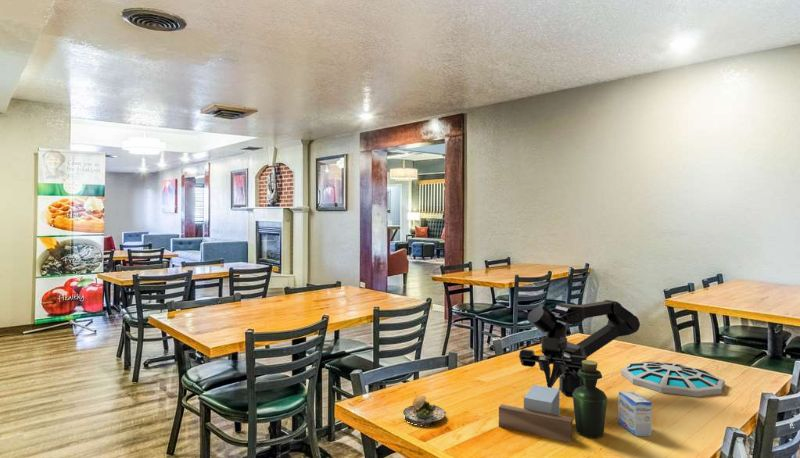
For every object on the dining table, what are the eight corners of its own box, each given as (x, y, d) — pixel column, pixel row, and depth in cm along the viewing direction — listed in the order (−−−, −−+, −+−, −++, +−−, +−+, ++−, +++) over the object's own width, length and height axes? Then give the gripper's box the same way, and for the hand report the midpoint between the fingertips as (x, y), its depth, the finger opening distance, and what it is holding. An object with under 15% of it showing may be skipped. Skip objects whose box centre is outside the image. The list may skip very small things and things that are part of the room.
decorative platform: (624, 389, 148) (624, 374, 148) (618, 364, 175) (618, 351, 175) (738, 403, 136) (738, 387, 136) (713, 374, 163) (713, 360, 163)
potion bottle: (579, 440, 112) (580, 367, 112) (567, 425, 121) (567, 357, 120) (612, 440, 112) (613, 367, 112) (598, 425, 121) (598, 357, 120)
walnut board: (501, 422, 122) (501, 404, 122) (572, 438, 113) (572, 418, 113) (498, 426, 120) (498, 407, 120) (570, 442, 111) (570, 421, 111)
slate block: (533, 412, 129) (533, 384, 129) (559, 418, 126) (559, 389, 125) (523, 428, 119) (523, 397, 119) (551, 434, 116) (551, 402, 116)
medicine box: (617, 423, 122) (617, 390, 122) (633, 422, 122) (633, 390, 122) (635, 436, 114) (635, 402, 114) (652, 436, 115) (652, 401, 114)
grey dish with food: (433, 432, 118) (433, 403, 117) (394, 421, 124) (394, 394, 124) (453, 415, 128) (453, 388, 128) (416, 406, 134) (416, 381, 134)
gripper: (520, 322, 139) (511, 369, 130) (586, 329, 130) (581, 379, 121) (526, 342, 146) (518, 387, 137) (589, 349, 137) (585, 398, 128)
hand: (549, 388), depth 130 cm, fingers closed
